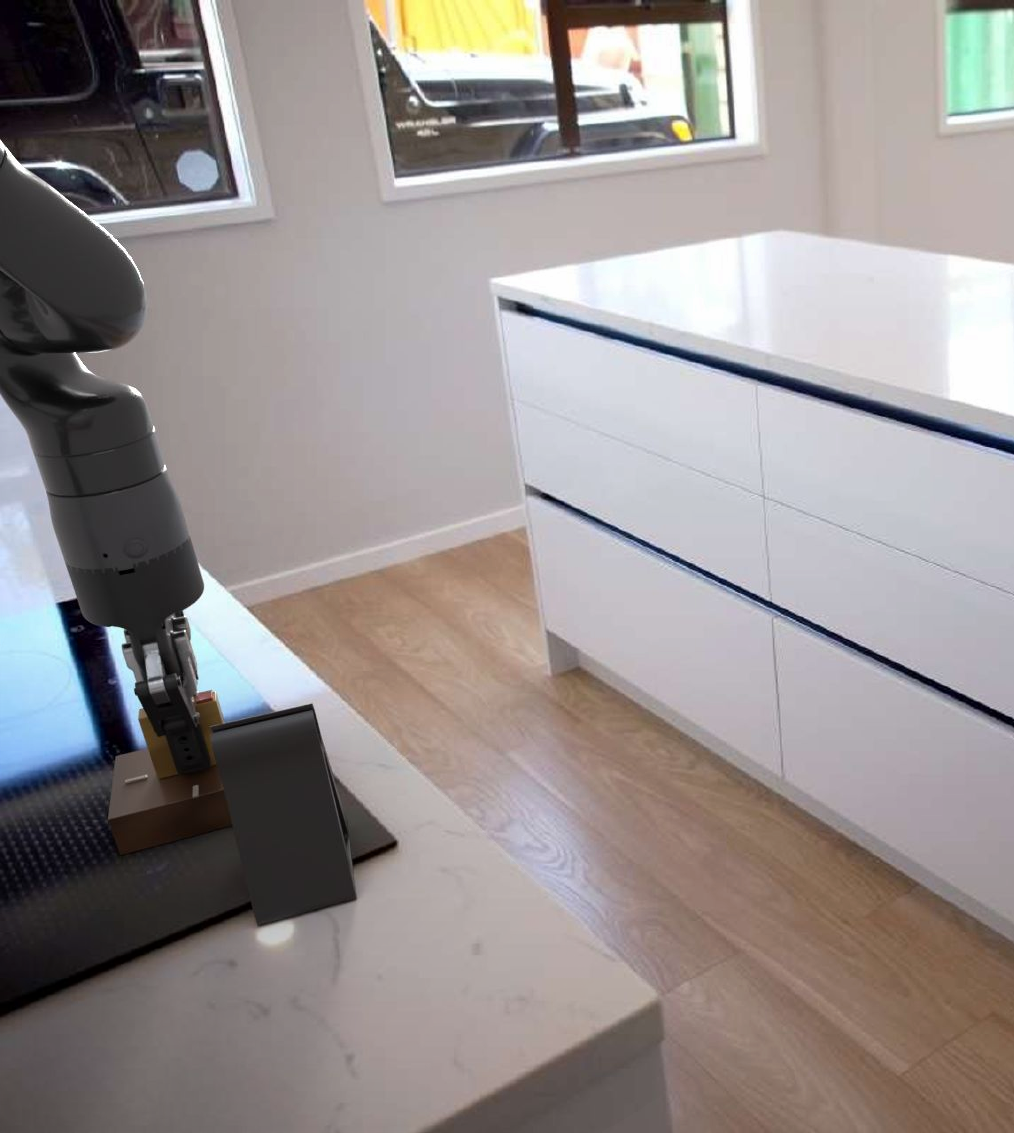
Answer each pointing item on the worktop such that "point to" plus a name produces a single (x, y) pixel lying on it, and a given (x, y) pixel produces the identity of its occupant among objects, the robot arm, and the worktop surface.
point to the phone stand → (285, 812)
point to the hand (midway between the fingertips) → (195, 761)
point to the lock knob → (159, 745)
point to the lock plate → (162, 804)
